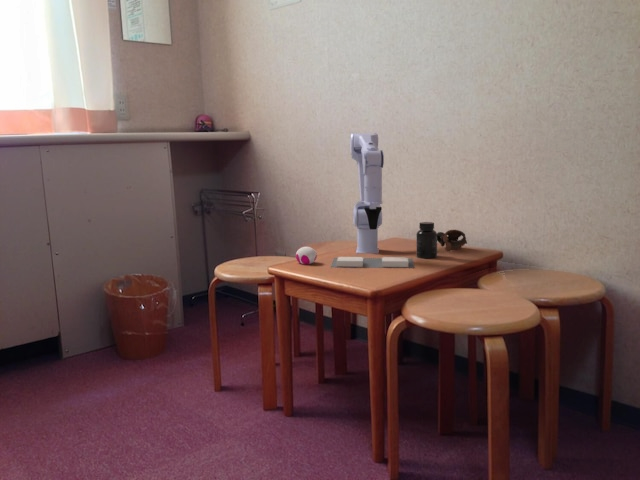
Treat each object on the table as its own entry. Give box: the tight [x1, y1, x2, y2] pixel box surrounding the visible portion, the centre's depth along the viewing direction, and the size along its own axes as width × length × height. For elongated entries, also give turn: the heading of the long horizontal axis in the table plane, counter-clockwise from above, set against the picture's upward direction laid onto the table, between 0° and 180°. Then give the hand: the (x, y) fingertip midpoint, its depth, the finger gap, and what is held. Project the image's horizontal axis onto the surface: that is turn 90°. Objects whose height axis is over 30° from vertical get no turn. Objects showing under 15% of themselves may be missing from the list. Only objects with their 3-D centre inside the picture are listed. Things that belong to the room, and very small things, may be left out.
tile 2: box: [381, 256, 408, 267], centre depth 177 cm, size 2×8×6 cm
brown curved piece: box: [437, 229, 468, 252], centre depth 205 cm, size 12×10×8 cm
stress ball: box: [295, 246, 318, 265], centre depth 182 cm, size 8×8×7 cm
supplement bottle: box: [415, 221, 438, 260], centre depth 189 cm, size 7×7×12 cm
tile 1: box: [337, 256, 364, 268], centre depth 179 cm, size 2×8×6 cm
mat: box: [330, 257, 416, 269], centre depth 182 cm, size 15×26×1 cm, turn 84°
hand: (373, 229), depth 186 cm, fingers closed
